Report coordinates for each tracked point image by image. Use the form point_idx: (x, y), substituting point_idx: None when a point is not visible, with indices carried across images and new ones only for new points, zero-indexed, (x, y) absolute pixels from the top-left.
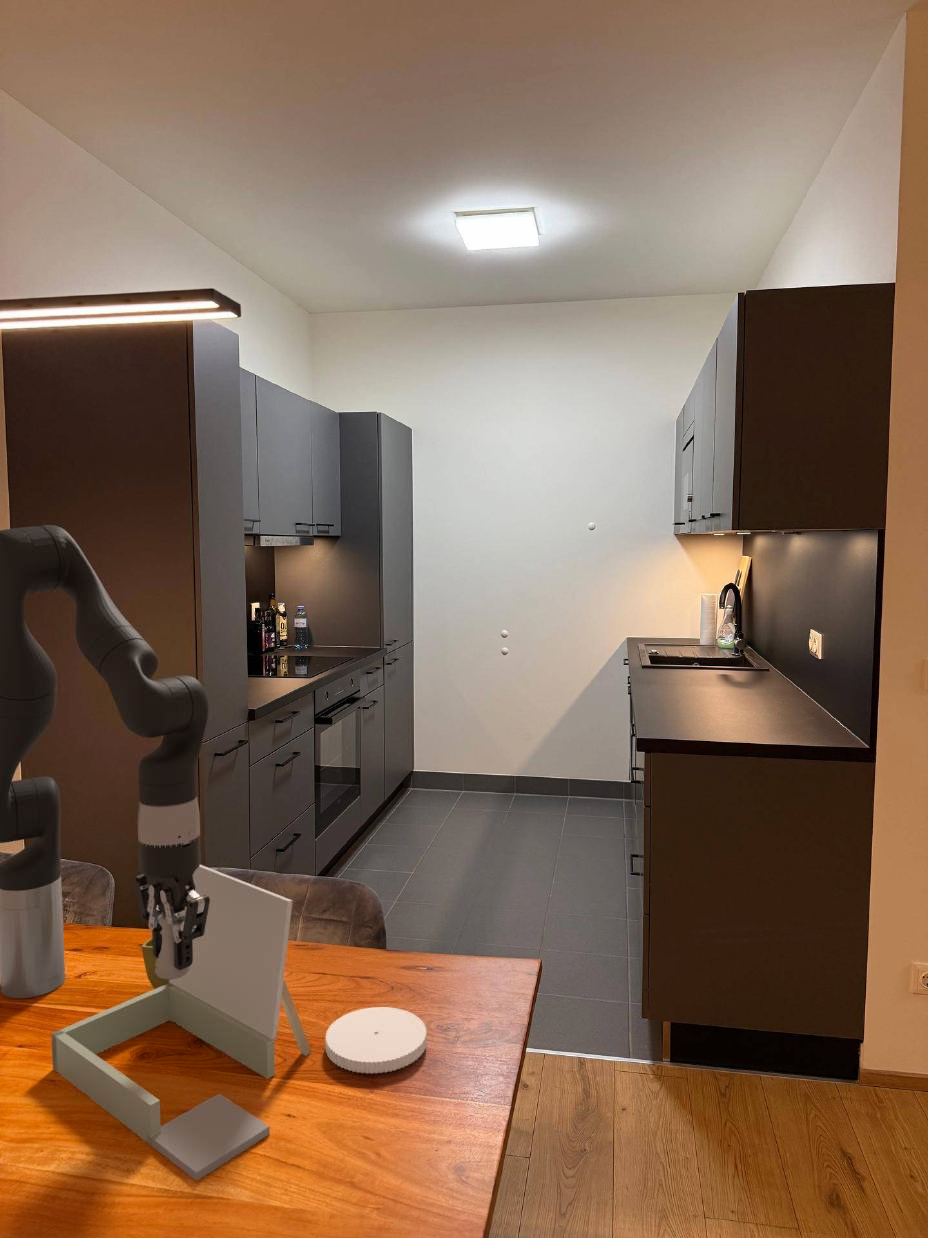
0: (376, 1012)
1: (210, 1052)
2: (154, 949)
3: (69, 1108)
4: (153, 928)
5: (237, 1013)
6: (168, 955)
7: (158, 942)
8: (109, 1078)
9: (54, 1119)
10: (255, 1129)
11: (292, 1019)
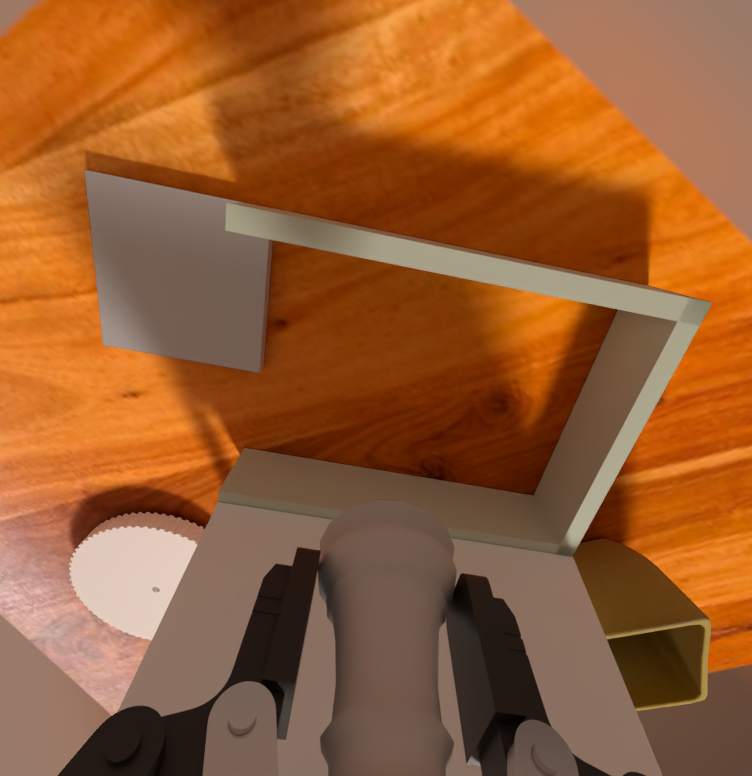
0: None
1: (392, 460)
2: (481, 607)
3: (512, 207)
4: (515, 739)
5: None
6: (360, 596)
7: (474, 649)
8: (420, 242)
9: (514, 161)
10: (113, 326)
11: None
